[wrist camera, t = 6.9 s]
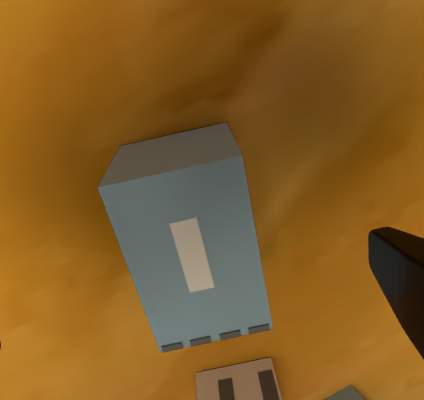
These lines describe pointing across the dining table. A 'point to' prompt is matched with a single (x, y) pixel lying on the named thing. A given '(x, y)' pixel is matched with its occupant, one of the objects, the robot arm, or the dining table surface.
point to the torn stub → (346, 394)
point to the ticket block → (239, 382)
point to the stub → (188, 236)
